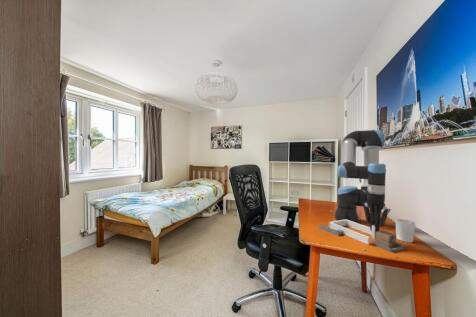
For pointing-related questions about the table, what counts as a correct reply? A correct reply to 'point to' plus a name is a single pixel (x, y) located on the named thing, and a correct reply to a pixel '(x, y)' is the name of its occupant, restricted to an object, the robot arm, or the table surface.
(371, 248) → the table surface
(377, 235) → the walnut cube
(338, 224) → the cubby
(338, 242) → the table surface
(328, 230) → the crook tool
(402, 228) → the white cup
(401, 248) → the grey bracket
